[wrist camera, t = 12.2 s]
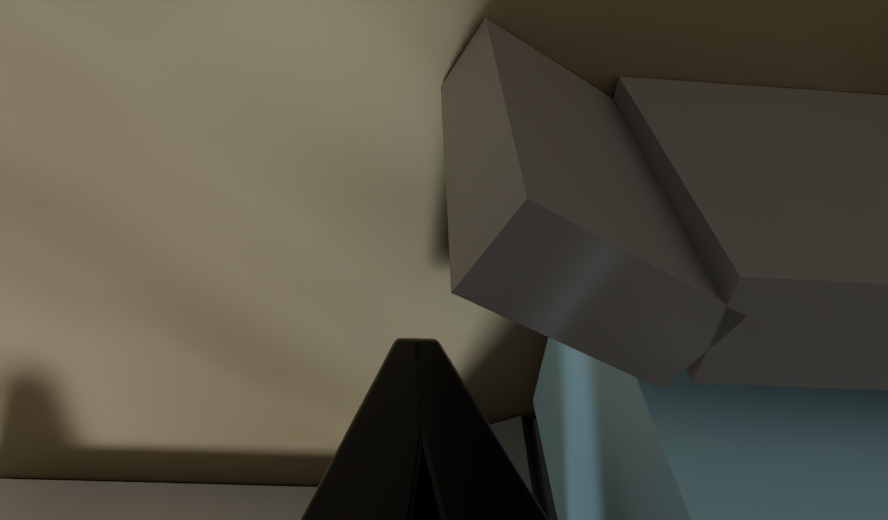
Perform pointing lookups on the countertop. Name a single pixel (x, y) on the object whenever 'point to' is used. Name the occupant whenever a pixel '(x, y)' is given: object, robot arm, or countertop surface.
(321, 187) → the countertop surface
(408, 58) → the countertop surface
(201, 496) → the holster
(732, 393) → the light blue block
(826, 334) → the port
